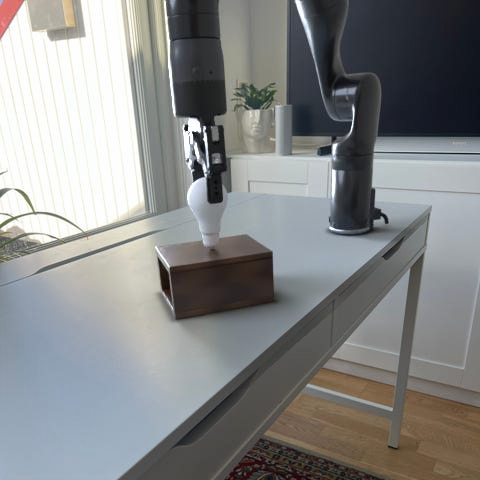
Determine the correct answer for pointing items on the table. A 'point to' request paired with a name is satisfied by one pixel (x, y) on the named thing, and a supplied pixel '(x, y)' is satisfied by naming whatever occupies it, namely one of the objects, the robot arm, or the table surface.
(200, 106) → the robot arm
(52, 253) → the table surface
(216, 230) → the lightbulb
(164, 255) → the shelf
